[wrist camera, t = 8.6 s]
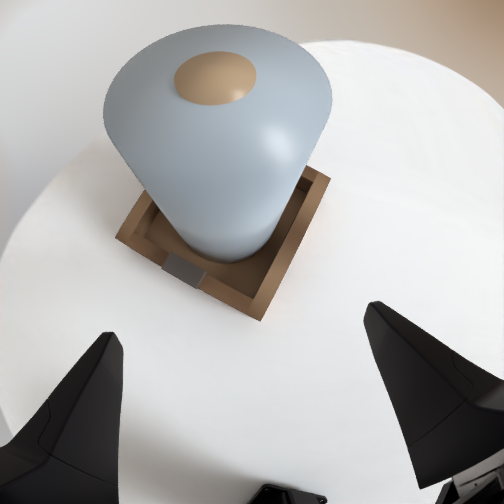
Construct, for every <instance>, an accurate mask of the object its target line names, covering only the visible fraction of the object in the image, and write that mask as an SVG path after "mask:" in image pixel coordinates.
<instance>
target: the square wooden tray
mask: <svg viewBox="0 0 504 504" xmlns="http://www.w3.org/2000/svg"><path fill="white" fill-rule="evenodd" d="M330 179H331V178H329V177H328V176H326V175H324V174H322V173H320V172H318V171H317V170H315V169H313V168H311V167H309V166H307V165H306V166H305V168H304V170H303V172H302V174H301V176H300V178H299V180H298V182H297V184H296V186H295V189H294V191H293V193H292V195H291V197H290V199H289V201H288V203H287V205H286V207H285V209H284V211H283V213H282V215H281V217H280V219H279V221H278V223H277V225H276V227H275V229H274V231H273V233H272V235H271V237H270V239H269V241H268V242H267V244H266V245H265V246H264V247H263V248H262V249H261V250H260V251H259V252H258V253H257V254H255V255H254V256H252V257H251V258H249V259H247V260H244V261H241V262H237V263H231V264H221V263H215V262H211V261H208V260H206V259H204V258H202V257H200V256H198V255H197V254H196V253H195V252H193V251H192V250H191V249H190V248H189V246H188V245H187V244H186V243H185V241H184V240H183V239H182V237H181V236H180V235H179V234H178V232H177V231H176V230H175V228H174V227H173V226H172V224H171V223H170V222H169V220H168V219H167V218H166V217H165V215H164V214H163V213H162V211H161V210H160V209H159V207H158V206H157V204H156V203H155V202H154V200H153V199H152V198H151V196H150V195H149V194H148V192H147V191H146V190H144V192H143V193H142V195H141V196H140V198H139V199H138V201H137V202H136V204H135V205H134V207H133V208H132V210H131V212H130V213H129V215H128V216H127V218H126V220H125V221H124V223H123V225H122V226H121V228H120V230H119V231H118V233H117V235H116V237H115V238H116V239H118V240H119V241H121V242H122V243H124V244H125V245H127V246H129V247H130V248H132V249H133V250H135V251H136V252H138V253H140V254H141V255H143V256H145V257H146V258H148V259H149V260H151V261H153V262H154V263H156V264H158V265H159V266H161V267H162V268H161V269H163V270H165V271H166V272H168V273H170V274H171V275H173V276H175V277H177V278H178V279H180V280H182V281H183V282H185V283H187V284H189V285H190V286H192V287H194V288H196V289H198V288H199V289H201V290H203V291H204V292H206V293H208V294H210V295H211V296H213V297H215V298H217V299H219V300H221V301H222V302H224V303H226V304H228V305H230V306H232V307H234V308H235V309H237V310H239V311H241V312H243V313H245V314H247V315H249V316H251V317H252V318H254V319H256V320H258V321H261V320H262V318H263V316H264V314H265V312H266V310H267V308H268V306H269V304H270V302H271V301H272V299H273V297H274V295H275V293H276V291H277V289H278V287H279V285H280V283H281V281H282V279H283V277H284V275H285V273H286V271H287V269H288V267H289V265H290V263H291V261H292V259H293V257H294V255H295V253H296V251H297V249H298V247H299V245H300V243H301V241H302V239H303V237H304V235H305V233H306V231H307V229H308V227H309V224H310V222H311V220H312V218H313V216H314V214H315V212H316V210H317V208H318V205H319V203H320V201H321V199H322V197H323V195H324V193H325V190H326V188H327V186H328V184H329V182H330Z"/></svg>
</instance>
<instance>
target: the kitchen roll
mask: <svg viewBox="0 0 504 504" xmlns="http://www.w3.org/2000/svg"><path fill="white" fill-rule="evenodd" d="M331 106H332V90H331V86H330V82H329V80H328V77H327V75H326V73H325V71H324V70H323V68H322V67H321V65H320V64H319V63H318V62H317V60H316V59H315V58H314V57H313V56H312V55H311V54H310V53H309V52H307V51H306V50H305V49H304V48H302V47H301V46H299V45H298V44H297V43H295V42H293V41H291V40H289V39H287V38H286V37H283V36H281V35H279V34H276V33H273V32H270V31H267V30H264V29H260V28H255V27H250V26H243V25H229V24H227V25H209V26H201V27H196V28H191V29H187V30H183V31H180V32H177V33H174V34H171V35H169V36H166V37H164V38H162V39H160V40H158V41H156V42H154V43H152V44H151V45H149V46H147V47H146V48H144V49H143V50H141V51H140V52H139V53H137V54H136V55H135V56H134V57H133V58H131V59H130V60H129V61H128V62H127V63H126V64H125V65H124V66H123V67H122V68H121V70H120V71H119V72H118V74H117V75H116V77H115V78H114V80H113V81H112V83H111V85H110V87H109V89H108V92H107V94H106V98H105V102H104V110H103V118H104V124H105V128H106V131H107V134H108V136H109V138H110V139H111V141H112V143H113V144H114V146H115V147H116V149H117V150H118V152H119V153H120V154H121V156H122V157H123V159H124V160H125V162H126V163H127V164H128V166H129V167H130V169H131V170H132V172H133V173H134V174H135V176H136V177H137V179H138V180H139V181H140V183H141V184H142V185H143V187H144V188H145V190H146V191H147V192H148V194H149V195H150V196H151V198H152V199H153V200H154V202H155V203H156V204H157V206H158V207H159V209H160V210H161V211H162V213H163V214H164V215H165V217H166V218H167V219H168V220H169V222H170V223H171V224H172V226H173V227H174V228H175V230H176V231H177V232H178V234H179V235H180V236H181V237H182V239H183V240H184V241H185V243H186V244H187V245H188V246H189V248H190V249H191V250H192V251H193V252H195V253H196V254H197V255H198V256H200V257H202V258H204V259H206V260H208V261H211V262H215V263H221V264H231V263H237V262H241V261H244V260H247V259H249V258H251V257H252V256H254V255H255V254H257V253H258V252H259V251H260V250H261V249H262V248H263V247H264V246H265V245H266V244H267V242H268V241H269V239H270V237H271V235H272V233H273V231H274V229H275V227H276V225H277V223H278V221H279V219H280V217H281V215H282V213H283V211H284V209H285V207H286V205H287V203H288V201H289V199H290V197H291V195H292V193H293V191H294V189H295V186H296V184H297V182H298V180H299V178H300V176H301V174H302V172H303V170H304V168H305V166H306V164H307V162H308V160H309V158H310V156H311V154H312V152H313V150H314V147H315V145H316V143H317V141H318V139H319V137H320V135H321V133H322V131H323V129H324V127H325V125H326V123H327V120H328V118H329V115H330V112H331Z"/></svg>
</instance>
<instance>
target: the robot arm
mask: <svg viewBox="0 0 504 504" xmlns="http://www.w3.org/2000/svg"><path fill="white" fill-rule="evenodd" d="M363 321H364V326H365V329H366V333H367V336H368V339H369V342H370V346H371V349H372V353H373V356H374V359H375V362H376V364H377V367H378V369H379V371H380V374H381V376H382V379H383V381H384V384H385V387H386V389H387V392H388V394H389V397H390V400H391V402H392V405H393V408H394V410H395V413H396V416H397V419H398V422H399V424H400V427H401V430H402V433H403V436H404V439H405V442H406V445H407V448H408V452H409V455H410V458H411V462H412V465H413V468H414V472H415V475H416V479H417V482H418V486H419V488H420V489H423V488H426V487H429V486H431V485H434V484H436V483H439V482H441V481H443V480H446V479H448V478H450V477H452V480H450V481H449V482H447V483H446V484H444V485H443V487H442V490H441V492H440V494H439V496H438V499H437V501H436V503H435V504H504V380H502V379H500V378H498V377H496V376H494V375H492V374H491V373H489V372H487V371H485V370H484V369H482V368H480V367H478V366H477V365H475V364H473V363H472V362H470V361H468V360H467V359H465V358H464V357H462V356H461V355H459V354H458V353H457V352H455V351H454V350H452V349H450V348H449V347H448V346H446V345H445V344H443V343H442V342H441V341H439V340H438V339H436V338H435V337H433V336H432V335H430V334H429V333H427V332H426V331H424V330H423V329H421V328H420V327H418V326H417V325H415V324H414V323H412V322H411V321H409V320H408V319H406V318H405V317H403V316H402V315H400V314H399V313H397V312H396V311H394V310H393V309H391V308H390V307H388V306H387V305H385V304H384V303H382V302H380V301H374V302H370V303H369V304H368V306H367V309H366V312H365V316H364V320H363ZM122 391H123V347H122V345H121V343H120V341H119V340H118V338H117V336H116V334H115V333H114V332H103V333H102V334H101V335H100V336H99V337H98V338H97V339H96V341H95V342H94V343H93V344H92V345H91V346H90V347H89V349H88V350H87V351H86V352H85V353H84V354H83V356H82V357H81V358H80V359H79V360H78V361H77V363H76V364H75V365H74V366H73V367H72V369H71V370H70V371H69V372H68V373H67V375H66V376H65V377H64V378H63V379H62V381H61V382H60V383H59V384H58V386H57V387H56V388H55V389H54V391H53V392H52V393H51V394H50V396H49V397H48V399H46V401H45V402H44V403H43V405H42V406H41V407H40V408H39V409H38V411H37V412H36V413H35V414H34V416H33V417H32V418H31V419H30V420H29V421H28V422H27V423H26V425H25V426H24V427H23V428H22V429H21V430H20V431H19V432H18V433H17V434H16V436H15V437H14V438H13V439H12V440H11V441H10V442H9V443H8V444H6V445H5V446H3V447H0V504H119V495H118V446H119V427H120V413H121V402H122ZM265 489H269V490H265ZM322 500H323V501H322ZM326 503H327V498H326V497H325V496H320V495H315V494H313V493H308V492H303V491H298V490H294V489H286V488H282V487H278V486H274V485H271V484H265V485H263V486H262V487H261V488H260V489H259V491H258V492H257V493H256V494H255V495H254V496H253V498H252V499H251V500H250V501H249V502H248V503H247V504H326Z"/></svg>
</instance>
